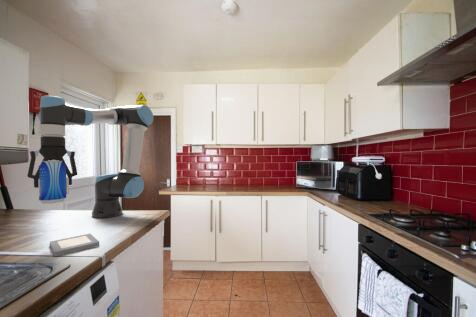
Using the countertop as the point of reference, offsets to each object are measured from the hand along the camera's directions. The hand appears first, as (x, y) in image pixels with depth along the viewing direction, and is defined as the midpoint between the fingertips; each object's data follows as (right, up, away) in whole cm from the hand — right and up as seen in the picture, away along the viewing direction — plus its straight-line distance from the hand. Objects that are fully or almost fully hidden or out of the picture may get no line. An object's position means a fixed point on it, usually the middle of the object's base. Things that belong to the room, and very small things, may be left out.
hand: (53, 194), depth 90 cm
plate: (+11, -18, -4) cm, 22 cm away
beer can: (0, -3, 0) cm, 3 cm away
